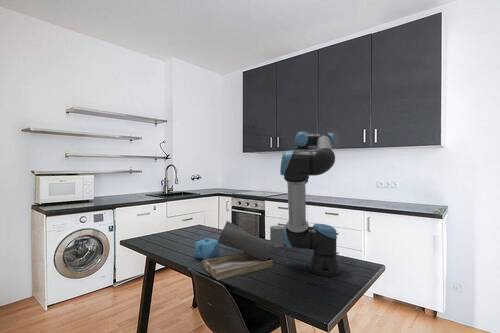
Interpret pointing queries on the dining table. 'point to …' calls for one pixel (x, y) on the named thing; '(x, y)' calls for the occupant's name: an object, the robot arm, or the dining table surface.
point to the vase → (245, 242)
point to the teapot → (206, 248)
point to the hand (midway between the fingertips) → (302, 193)
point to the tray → (234, 265)
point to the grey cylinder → (277, 236)
